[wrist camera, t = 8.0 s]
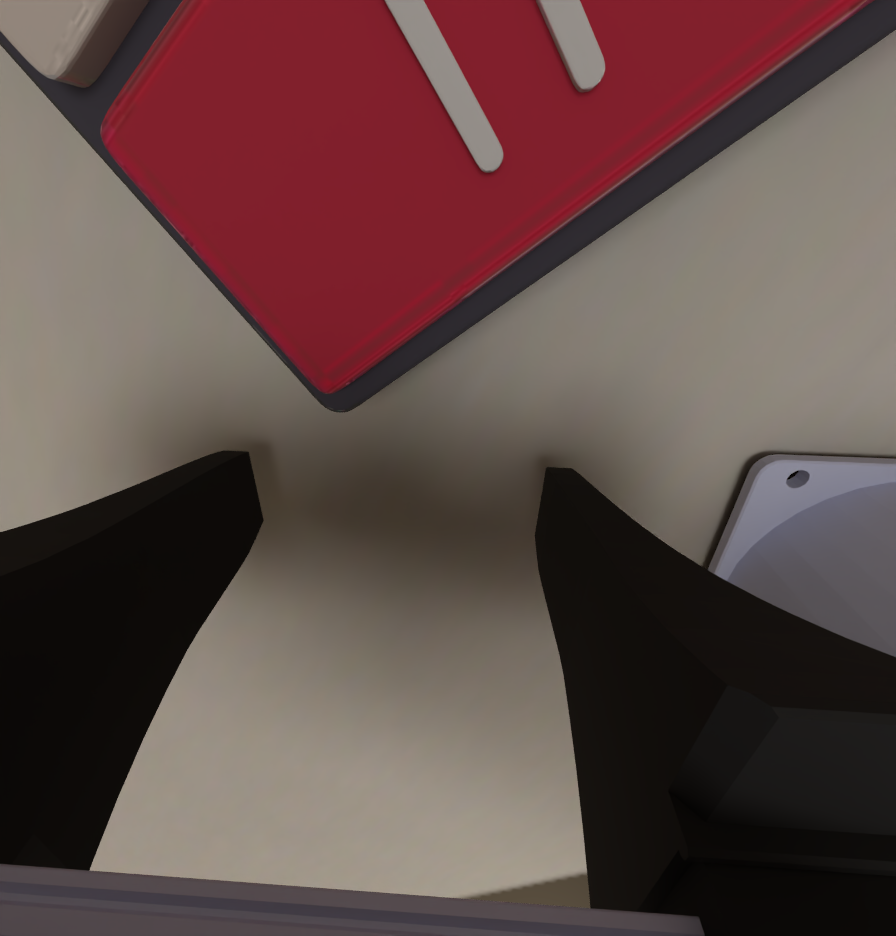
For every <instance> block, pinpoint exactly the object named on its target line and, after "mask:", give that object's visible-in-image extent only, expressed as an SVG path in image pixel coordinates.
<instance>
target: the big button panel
mask: <svg viewBox="0 0 896 936" xmlns="http://www.w3.org/2000/svg"><path fill="white" fill-rule="evenodd" d="M894 30H896V0H0V45H1V46H2V47H3V48H4V49H5V50H6V52H7V53H8V54H9V55H10V56H11V57H12V58H13V59H14V60H15V62H16V63H17V64H18V65H19V66H20V67H21V68H22V69H23V71H24V72H25V73H26V74H27V75H28V76H29V77H30V78H31V80H32V81H33V82H34V83H35V84H36V85H37V86H38V87H39V89H40V90H41V91H42V92H43V93H44V94H45V95H46V96H47V98H48V99H49V100H50V101H51V102H52V103H53V104H54V105H55V107H56V108H57V109H58V110H59V111H60V112H61V113H62V114H63V115H64V117H65V118H66V119H67V120H68V121H69V122H70V123H71V124H72V126H73V127H74V128H75V129H76V130H77V131H78V132H79V133H80V135H81V136H82V137H83V138H84V139H85V140H86V141H87V142H88V144H89V145H90V146H91V147H92V148H93V149H94V150H95V151H96V153H97V154H98V155H99V156H100V157H101V158H102V159H103V160H104V162H105V163H106V164H107V165H108V166H109V167H110V168H111V169H112V171H113V172H114V173H115V174H116V175H117V176H118V177H119V178H120V179H121V181H122V182H123V183H124V184H125V185H126V186H127V187H128V188H129V190H130V191H131V192H132V193H133V194H134V195H135V196H136V197H137V199H138V200H139V201H140V202H141V203H142V204H143V205H144V206H145V208H146V209H147V210H148V211H149V212H150V213H151V214H152V215H153V217H154V218H155V219H156V220H157V221H158V222H159V223H160V224H161V226H162V227H163V228H164V229H165V230H166V231H167V232H168V233H169V235H170V236H171V237H172V238H173V239H174V240H175V241H176V242H177V243H178V245H179V246H180V247H181V248H182V249H183V250H184V251H185V252H186V254H187V255H188V256H189V257H190V258H191V259H192V260H193V261H194V263H195V264H196V265H197V266H198V267H199V268H200V269H201V270H202V272H203V273H204V274H205V275H206V276H207V277H208V278H209V279H210V281H211V282H212V283H213V284H214V285H215V286H216V287H217V288H218V290H219V291H220V292H221V293H222V294H223V295H224V296H225V297H226V298H227V300H228V301H229V302H230V303H231V304H232V305H233V306H234V307H235V309H236V310H237V311H238V312H239V313H240V314H241V315H242V316H243V318H244V319H245V320H246V321H247V322H248V323H249V324H250V325H251V327H252V328H253V329H254V330H255V331H256V332H257V333H258V334H259V336H260V337H261V338H262V339H263V340H264V341H265V342H266V343H267V345H268V346H269V347H270V348H271V349H272V350H273V351H274V352H275V354H276V355H277V356H278V357H279V358H280V359H281V360H282V361H283V362H284V364H285V365H286V366H287V367H288V368H289V369H290V370H291V371H292V373H293V374H294V375H295V376H296V377H297V378H298V379H299V380H300V382H301V383H302V384H303V385H304V386H305V387H306V388H307V389H308V391H309V392H310V393H311V394H312V395H313V396H314V397H315V398H316V399H317V400H318V401H319V402H320V403H321V404H322V405H323V406H324V407H325V408H327V409H329V410H331V411H334V412H348V411H350V410H352V409H354V408H355V407H357V406H359V405H360V404H362V403H363V402H365V401H366V400H367V399H369V398H370V397H372V396H373V395H375V394H376V393H377V392H379V391H380V390H382V389H383V388H385V387H386V386H387V385H389V384H390V383H392V382H393V381H395V380H396V379H397V378H399V377H400V376H402V375H403V374H405V373H406V372H407V371H409V370H410V369H412V368H413V367H415V366H416V365H417V364H419V363H420V362H422V361H423V360H425V359H426V358H427V357H429V356H430V355H432V354H433V353H435V352H436V351H437V350H439V349H440V348H442V347H443V346H445V345H446V344H447V343H449V342H450V341H452V340H453V339H455V338H456V337H457V336H459V335H460V334H462V333H463V332H465V331H466V330H467V329H469V328H470V327H472V326H473V325H475V324H476V323H477V322H479V321H480V320H482V319H483V318H485V317H486V316H487V315H489V314H490V313H492V312H493V311H495V310H496V309H497V308H499V307H500V306H502V305H503V304H505V303H506V302H507V301H509V300H510V299H512V298H513V297H515V296H516V295H517V294H519V293H520V292H522V291H523V290H525V289H526V288H527V287H529V286H530V285H532V284H533V283H535V282H536V281H537V280H539V279H540V278H542V277H543V276H545V275H546V274H547V273H549V272H550V271H552V270H553V269H555V268H556V267H557V266H559V265H560V264H562V263H563V262H565V261H566V260H567V259H569V258H570V257H572V256H573V255H575V254H576V253H577V252H579V251H580V250H582V249H583V248H585V247H586V246H587V245H589V244H590V243H592V242H593V241H595V240H596V239H597V238H599V237H600V236H602V235H603V234H605V233H606V232H607V231H609V230H610V229H612V228H613V227H615V226H616V225H617V224H619V223H620V222H622V221H623V220H625V219H626V218H627V217H629V216H630V215H632V214H633V213H635V212H636V211H637V210H639V209H640V208H642V207H643V206H645V205H646V204H647V203H649V202H650V201H652V200H653V199H655V198H656V197H657V196H659V195H660V194H662V193H663V192H665V191H666V190H667V189H669V188H670V187H672V186H673V185H675V184H676V183H677V182H679V181H680V180H682V179H683V178H685V177H686V176H687V175H689V174H690V173H692V172H693V171H695V170H696V169H697V168H699V167H700V166H702V165H703V164H705V163H706V162H707V161H709V160H710V159H712V158H713V157H715V156H716V155H717V154H719V153H720V152H722V151H723V150H724V149H726V148H727V147H729V146H730V145H732V144H733V143H734V142H736V141H737V140H739V139H740V138H742V137H743V136H744V135H746V134H747V133H749V132H750V131H752V130H753V129H754V128H756V127H757V126H759V125H760V124H762V123H763V122H764V121H766V120H767V119H769V118H770V117H772V116H773V115H774V114H776V113H777V112H779V111H780V110H782V109H783V108H784V107H786V106H787V105H789V104H790V103H792V102H793V101H794V100H796V99H797V98H799V97H800V96H802V95H803V94H804V93H806V92H807V91H809V90H810V89H812V88H813V87H814V86H816V85H817V84H819V83H820V82H822V81H823V80H824V79H826V78H827V77H829V76H830V75H832V74H833V73H834V72H836V71H837V70H839V69H840V68H842V67H843V66H844V65H846V64H847V63H849V62H850V61H852V60H853V59H854V58H856V57H857V56H859V55H860V54H862V53H863V52H864V51H866V50H867V49H869V48H870V47H872V46H873V45H874V44H876V43H877V42H879V41H880V40H882V39H883V38H884V37H886V36H887V35H889V34H890V33H892V32H893V31H894Z"/></svg>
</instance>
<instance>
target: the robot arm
mask: <svg viewBox="0 0 896 936" xmlns="http://www.w3.org/2000/svg"><path fill="white" fill-rule="evenodd" d="M795 471H798V473H797V474H796V475H795V476H794V477H792V478H791V479H788V480H787V478H788V477H789V476H790V474H792V473H794V472H795ZM262 523H263V516H262V512H261V507H260V502H259V498H258V493H257V489H256V484H255V480H254V475H253V470H252V466H251V461H250V457H249V452H242V451H220V452H217V453H214V454H210V455H208V456H205V457H202V458H200V459H197V460H195V461H192V462H190V463H187V464H185V465H182V466H180V467H178V468H175V469H173V470H170V471H168V472H166V473H163V474H161V475H159V476H156V477H154V478H151V479H149V480H147V481H144V482H142V483H140V484H137V485H135V486H132V487H130V488H127V489H125V490H122V491H119V492H117V493H114V494H112V495H109V496H107V497H104V498H102V499H99V500H96V501H94V502H91V503H89V504H86V505H83V506H81V507H78V508H75V509H72V510H70V511H67V512H64V513H61V514H58V515H55V516H52V517H49V518H46V519H42V520H39V521H36V522H33V523H30V524H27V525H24V526H20V527H17V528H14V529H10V530H7V531H3V532H0V936H896V459H890V458H863V457H837V456H810V455H783V454H775V455H768V456H766V457H763V458H761V459H759V460H758V461H757V462H756V463H754V464H753V466H752V467H751V469H750V470H749V473H748V475H747V477H746V480H745V482H744V485H743V487H742V489H741V492H740V494H739V496H738V499H737V501H736V504H735V506H734V508H733V511H732V513H731V515H730V518H729V520H728V523H727V525H726V527H725V530H724V532H723V535H722V537H721V539H720V542H719V544H718V546H717V549H716V551H715V554H714V556H713V558H712V561H711V563H710V565H709V568H708V570H707V569H705V568H703V567H702V566H700V565H698V564H697V563H695V562H694V561H692V560H690V559H689V558H687V557H686V556H684V555H682V554H681V553H679V552H678V551H676V550H675V549H673V548H672V547H670V546H669V545H667V544H666V543H664V542H663V541H661V540H660V539H659V538H657V537H656V536H654V535H653V534H652V533H650V532H649V531H648V530H646V529H645V528H644V527H642V526H641V525H640V524H638V523H637V522H636V521H634V520H633V519H632V518H631V517H629V516H628V515H627V514H626V513H624V512H623V511H622V510H621V509H619V508H618V507H617V506H616V505H615V504H613V503H612V502H611V501H610V500H609V499H608V498H606V497H605V496H604V495H603V494H602V493H601V492H599V491H598V490H597V489H596V488H595V487H594V486H593V485H591V484H590V483H589V482H588V481H587V480H586V479H585V478H583V477H582V476H581V475H580V474H579V473H577V472H576V471H575V470H573V469H571V468H552V467H546V472H545V478H544V484H543V490H542V496H541V502H540V508H539V514H538V520H537V526H536V532H535V542H536V552H537V560H538V569H539V574H540V578H541V583H542V587H543V591H544V595H545V599H546V603H547V607H548V611H549V615H550V619H551V623H552V627H553V631H554V635H555V638H556V642H557V646H558V650H559V654H560V659H561V664H562V669H563V674H564V681H565V688H566V695H567V702H568V709H569V716H570V723H571V731H572V739H573V746H574V754H575V762H576V770H577V779H578V788H579V797H580V806H581V814H582V823H583V833H584V843H585V854H586V864H587V875H588V885H589V894H590V907H591V908H578V907H564V906H551V905H538V904H525V903H512V902H511V903H510V902H498V901H485V900H472V899H459V898H445V897H432V896H419V895H406V894H392V893H379V892H366V891H352V890H339V889H326V888H313V887H299V886H286V885H273V884H260V883H246V882H233V881H220V880H206V879H193V878H180V877H167V876H153V875H140V874H127V873H114V872H100V871H89V870H90V867H91V864H92V862H93V859H94V856H95V854H96V851H97V849H98V846H99V844H100V841H101V839H102V836H103V834H104V831H105V829H106V826H107V824H108V821H109V819H110V816H111V814H112V811H113V808H114V806H115V803H116V801H117V798H118V796H119V794H120V791H121V789H122V787H123V784H124V782H125V780H126V777H127V775H128V773H129V771H130V768H131V766H132V764H133V761H134V759H135V757H136V755H137V752H138V750H139V748H140V745H141V743H142V741H143V738H144V736H145V734H146V732H147V730H148V728H149V726H150V724H151V722H152V720H153V717H154V715H155V713H156V711H157V709H158V707H159V705H160V703H161V701H162V698H163V696H164V694H165V692H166V690H167V688H168V686H169V684H170V682H171V680H172V679H173V677H174V675H175V673H176V671H177V669H178V667H179V665H180V663H181V661H182V659H183V657H184V655H185V653H186V651H187V649H188V648H189V646H190V644H191V643H192V641H193V639H194V638H195V636H196V634H197V633H198V631H199V630H200V628H201V626H202V625H203V623H204V622H205V620H206V619H207V617H208V616H209V614H210V613H211V611H212V610H213V608H214V607H215V605H216V604H217V602H218V601H219V599H220V597H221V596H222V594H223V593H224V591H225V590H226V588H227V587H228V585H229V584H230V582H231V581H232V579H233V578H234V576H235V574H236V573H237V571H238V570H239V568H240V567H241V565H242V563H243V562H244V560H245V559H246V557H247V555H248V554H249V552H250V549H251V547H252V545H253V543H254V541H255V539H256V537H257V534H258V532H259V530H260V527H261V525H262Z"/></svg>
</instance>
